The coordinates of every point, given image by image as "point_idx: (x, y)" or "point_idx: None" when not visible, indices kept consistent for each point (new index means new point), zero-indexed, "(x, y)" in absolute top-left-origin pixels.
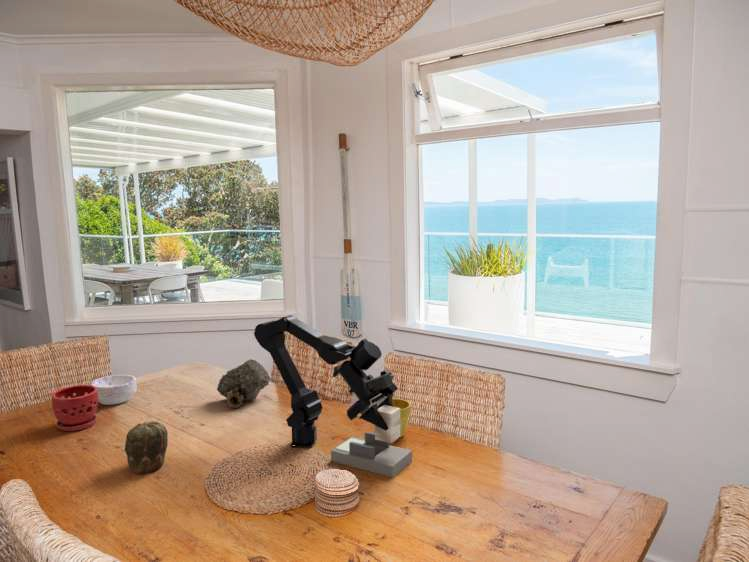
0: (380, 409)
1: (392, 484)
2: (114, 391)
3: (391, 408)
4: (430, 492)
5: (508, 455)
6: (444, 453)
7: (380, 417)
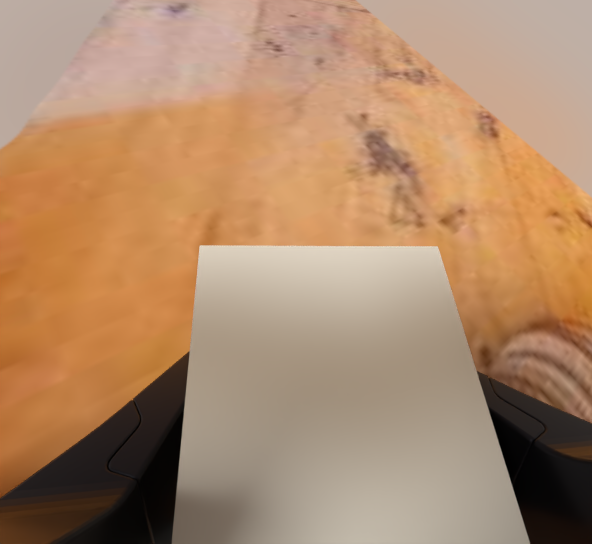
0: (420, 489)
1: None
2: None
3: (273, 345)
4: (352, 202)
5: (44, 108)
6: (90, 256)
7: (480, 383)
